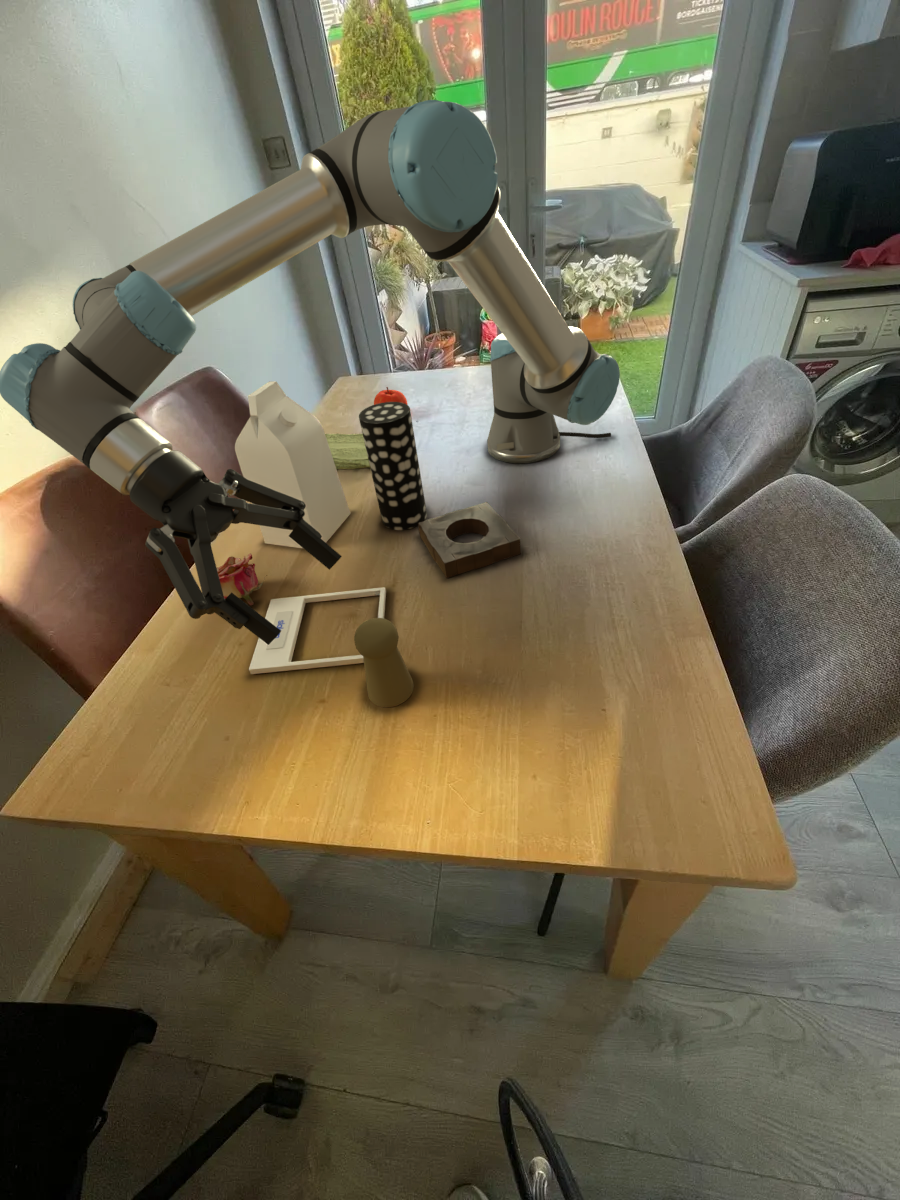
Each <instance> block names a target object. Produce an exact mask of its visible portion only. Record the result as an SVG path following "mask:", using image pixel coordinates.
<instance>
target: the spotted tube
mask: <svg viewBox="0 0 900 1200" xmlns="http://www.w3.org/2000/svg"><path fill="white" fill-rule="evenodd" d="M407 404H408V403H407ZM407 404H405V403H401V402H384V403H379V404H375V405H374V404H372V405H370V406H367V407H366V408H364V409H362V410H361V411H360V413H358V420H359V424H360V428H361V434H363V438H364V442H365V447H366V451H367V456H368V460H369V464H370V468H369V469H370V473H371V477H372V482H373V486H374V491H375V495H376V500H377V504H378V508H379V512H380V517H381V522H382V524H383V526H385V527H386V528H388V529H390V530H394V531H405V530H410V529H413V528H416V527H418V523H419V522H422V521H426V520H427V517H428V512H427V505H426V499H425V494H424V487H423V482H422V475H421V469H420V462H419V456H418V449H417V444H416V439H415V432H414V425H413V418H412V413H411V407H410V406H409V405H407Z"/></svg>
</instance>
